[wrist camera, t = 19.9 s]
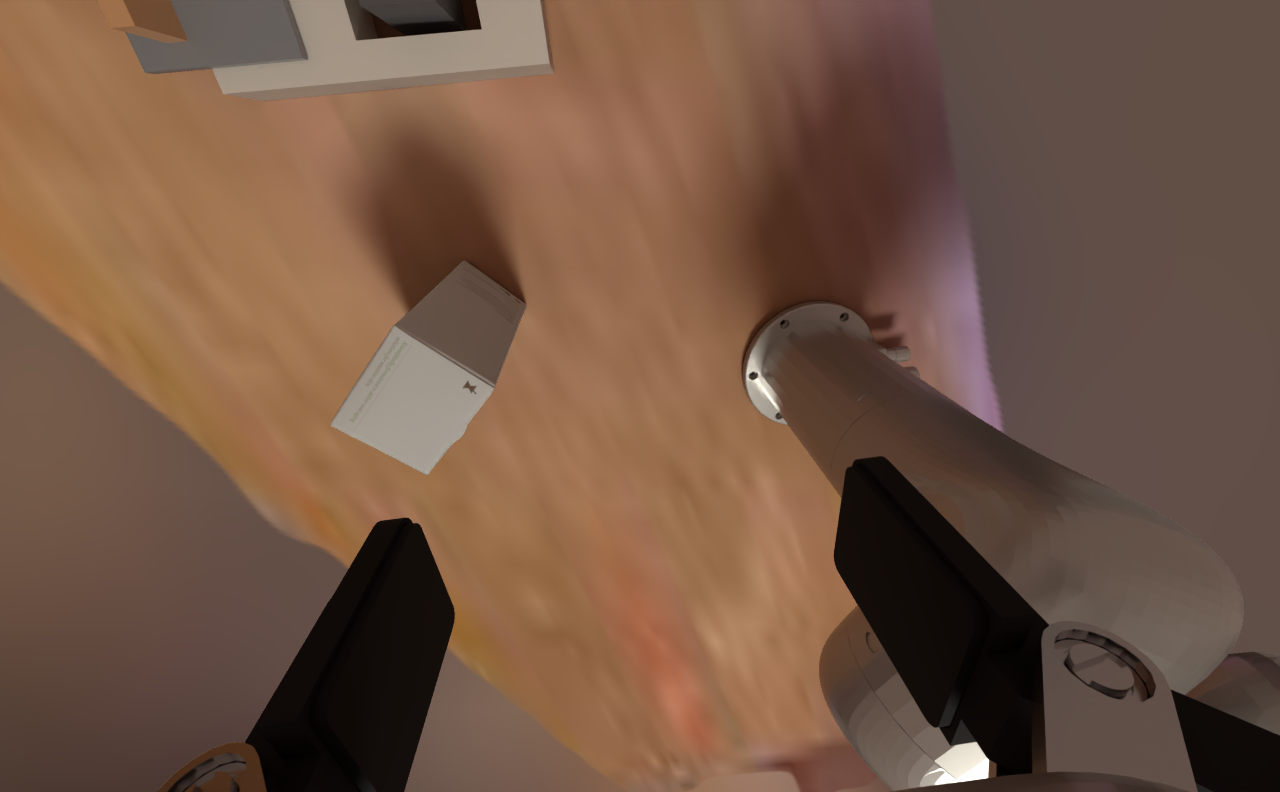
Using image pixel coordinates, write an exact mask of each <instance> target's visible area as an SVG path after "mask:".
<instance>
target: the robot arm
mask: <svg viewBox="0 0 1280 792" xmlns="http://www.w3.org/2000/svg"><path fill="white" fill-rule="evenodd" d="M841 314H842V315H841ZM840 315H841V316H840ZM782 320H784V321H783V323H781V324H780V322H781V321H782ZM909 358H910V350H909V348H908V347H907V346H899V347H891V348H889V349H885V348H883V347H882V346H880V345H879V344H877V343H876V342H874V340H873V335H872V333H871V331H870V329H869V327H868V325H867V324H866V323H865V322H864V320H863V319H862V318H861V317H860V316H859V315H857V314H856V313H855V312H853V311H852V310H850V309H848V308H846V307H844V306H843V305H840V304H836V303H833V302H826V301H813V302H805V303H802V304H798V305H795V306H792V307H790V308H788V309H786V310H784V311H782V312H780V313H779V314H777V315H776V316H774V317H773V318H772V319H770V320H769V321H768V322H767V323H766V324H765V325H764V326H763V327H762V328H761V329H760V330H759V331H758V333H757V334H756V336H755V337H754V338H753V340H752V341H751V343H750V346H749V348H748V350H747V352H746V355H745V359H744V363H743V373H742V377H743V384H744V388H745V391H746V393H747V396H748V398H749V399H750V401H751V402H752V404H753V405H754V407H755V408H756V409H757V410H758V411H759V412H760V413H761V414H762V415H764V416H765V417H767V418H768V419H770V420H772V421H774V422H777V423H781V424H785V425H789V427H790V428H791V430H792V431H793V432H794V434H795V435H796V436H797V438H798V439H799V440H800V442H801V443H802V445H803V446H804V447H805V449H806V450H807V451H808V453H809V454H810V455H811V457H812V458H813V460H814V461H815V462H816V464H817V465H818V466H819V468H820V469H821V471H822V472H823V473H824V475H825V476H826V477H827V479H828V480H829V481H830V483H831V484H832V486H833V487H834V488H835V490H836V491H837V493H838V494H839V495H840V497H841V498H842V499H841V506H840V514H839V521H838V528H837V535H836V542H835V549H834V562H835V565H836V568H837V570H838V572H839V574H840V576H841V577H842V579H843V581H844V582H845V584H846V586H847V588H848V589H849V591H850V593H851V594H852V596H853V598H854V599H855V601H856V603H857V604H858V605H857V606H856V607H855V608H854V609H853V610H852V611H851V612H850V613H849V614H848V615H847V616H846V617H845V618H844V619H843V621H842V622H841V623H840V624H839V625H838V626H837V627H836V629H835V630H834V631H833V632H832V633H831V635H830V636H829V638H828V639H827V641H826V643H825V645H824V647H823V649H822V653H821V656H820V661H819V678H820V683H821V688H822V692H823V695H824V698H825V700H826V703H827V705H828V707H829V709H830V712H831V714H832V716H833V717H834V719H835V721H836V723H837V724H838V726H839V728H840V729H841V731H842V732H843V734H844V735H845V737H846V738H847V740H848V741H849V743H850V744H851V745H852V747H853V748H854V749H855V751H856V752H857V753H858V754H859V756H860V757H861V758H862V759H863V760H864V762H865V763H866V764H867V765H868V766H869V767H870V768H871V770H872V771H873V772H874V773H875V774H876V775H877V776H878V777H879V778H880V779H881V780H882V781H883V783H884V784H885V785H886V786H887V787H888V788H889V789H890V790H891V792H1280V655H1278V654H1274V653H1267V652H1242V653H1232V654H1229V652H1230V651H1231V649H1232V648H1233V646H1234V645H1235V643H1236V641H1237V638H1238V636H1239V634H1240V631H1241V627H1242V623H1243V618H1244V603H1243V597H1242V593H1241V590H1240V588H1239V585H1238V582H1237V581H1236V579H1235V577H1234V576H1233V574H1232V572H1231V571H1230V570H1229V568H1228V567H1227V566H1226V564H1225V563H1224V562H1223V561H1222V560H1221V559H1220V558H1219V556H1218V555H1217V554H1216V553H1215V552H1214V551H1213V550H1212V549H1211V548H1209V546H1207V545H1206V544H1205V543H1204V542H1203V541H1201V540H1200V539H1199V538H1198V537H1196V536H1195V535H1193V534H1192V533H1190V532H1189V531H1187V530H1186V529H1184V528H1183V527H1181V526H1180V525H1178V524H1177V523H1175V522H1174V521H1173V520H1171V519H1170V518H1168V517H1167V516H1165V515H1163V514H1161V513H1159V512H1157V511H1156V510H1154V509H1152V508H1150V507H1148V506H1146V505H1144V504H1143V503H1141V502H1139V501H1137V500H1135V499H1133V498H1131V497H1129V496H1127V495H1125V494H1123V493H1121V492H1119V491H1117V490H1114V489H1112V488H1110V487H1108V486H1106V485H1104V484H1102V483H1100V482H1098V481H1095V480H1093V479H1091V478H1089V477H1087V476H1084V475H1083V474H1080V473H1078V472H1076V471H1074V470H1072V469H1070V468H1068V467H1066V466H1064V465H1061V464H1059V463H1057V462H1055V461H1053V460H1051V459H1049V458H1047V457H1046V456H1044V455H1042V454H1040V453H1038V452H1036V451H1034V450H1032V449H1030V448H1028V447H1027V446H1025V445H1023V444H1021V443H1019V442H1017V441H1015V440H1014V439H1012V438H1011V437H1009V436H1007V435H1006V434H1004V433H1002V432H1001V431H999V430H997V429H996V428H994V427H993V426H991V425H989V424H988V423H986V422H985V421H983V420H981V419H980V418H978V417H976V416H975V415H973V414H972V413H970V412H969V411H968V410H966V409H965V408H963V407H962V406H960V405H959V404H957V403H956V402H954V401H953V400H951V399H950V398H948V397H947V396H945V395H944V394H942V393H941V392H939V391H938V390H936V389H935V388H933V387H932V386H930V385H929V384H927V383H926V382H924V381H923V380H922V379H920V374H919V371H918V370H917V369H916V367H913V366H911V367H902V366H901V365H899V364H898V363H896V362H901V361H907V360H909ZM751 372H753V373H752V374H750V373H751ZM454 618H455V612H454V607H453V604H452V602H451V599H450V597H449V594H448V592H447V589H446V587H445V584H444V582H443V579H442V577H441V575H440V572H439V570H438V567H437V565H436V562H435V560H434V557H433V555H432V552H431V550H430V548H429V545H428V543H427V540H426V538H425V535H424V533H423V530H422V528H421V526H420V525H419V524H418V523H414V524H413V523H412V521H411V520H410V519H409V518H399V519H391V520H384V521H379V522H377V523H376V524H375V526H374V527H373V529H372V530H371V532H370V534H369V536H368V537H367V539H366V541H365V542H364V544H363V546H362V547H361V549H360V551H359V552H358V554H357V556H356V558H355V559H354V561H353V563H352V564H351V566H350V568H349V569H348V571H347V573H346V575H345V576H344V578H343V580H342V581H341V583H340V585H339V587H338V588H337V590H336V592H335V593H334V595H333V596H332V598H331V599H330V601H329V602H328V603H327V605H326V607H325V608H324V610H323V612H322V613H321V615H320V617H319V619H318V620H317V622H316V624H315V625H314V627H313V629H312V631H311V632H310V634H309V636H308V637H307V639H306V640H305V642H304V644H303V646H302V647H301V649H300V650H299V652H298V654H297V656H296V657H295V659H294V661H293V662H292V664H291V666H290V667H289V669H288V671H287V672H286V674H285V676H284V678H283V679H282V681H281V683H280V684H279V686H278V688H277V689H276V691H275V693H274V694H273V696H272V698H271V699H270V701H269V703H268V704H267V706H266V708H265V709H264V711H263V713H262V714H261V716H260V718H259V720H258V721H257V723H256V725H255V727H254V728H253V730H252V731H251V733H250V735H249V737H248V738H247V740H246V742H245V743H244V742H236V743H227V744H224V745H221V746H219V747H216V748H213V749H211V750H209V751H207V752H205V753H204V754H202V755H200V756H198V757H197V758H195V759H193V760H192V761H191V762H189V763H188V764H187V765H185V766H184V767H183V768H181V769H180V770H179V771H178V772H176V773H175V774H174V775H173V776H172V777H171V778H170V779H169V780H168V781H167V782H166V783H165V784H164V785H163V786H162V787H161V788H160V789H159V790H158V791H157V792H404V790H405V786H406V783H407V780H408V777H409V773H410V770H411V766H412V763H413V760H414V756H415V753H416V750H417V746H418V743H419V740H420V736H421V733H422V729H423V726H424V723H425V719H426V716H427V713H428V709H429V706H430V703H431V699H432V696H433V692H434V689H435V686H436V682H437V679H438V675H439V672H440V669H441V665H442V662H443V659H444V655H445V652H446V649H447V645H448V642H449V639H450V635H451V632H452V628H453V625H454Z"/></svg>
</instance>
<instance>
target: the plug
mask: <svg viewBox="0 0 1280 792" xmlns="http://www.w3.org/2000/svg"><path fill="white" fill-rule="evenodd" d="M359 3H360V6H362V7H363V8H365V9H366V10H368V11H369V12H371V13H372V14H374V15H375V16H377V17H379V18H380V19H382V20H383V21H385V22H386V23H388V24H389V25H391V26H392V27H394V28H395V29H397V30H399V31H400V32H402V33H403V34H405V35H424V34H436V33H447V32H458V31H466V26H465V21H464V15H463V10H462V4H461V0H359Z"/></svg>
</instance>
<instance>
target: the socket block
mask: <svg viewBox="0 0 1280 792" xmlns="http://www.w3.org/2000/svg"><path fill="white" fill-rule="evenodd" d="M288 2H289V5H290V8H291V11H292V14H293V17H294V20H295V23H296V26H297V29H298V31H299V34H300V37H301V40H302V43H303V46H304V49H305V52H306V55H307V58H308V60H302V61H291V62H280V63H270V64H259V65H248V66H237V67H226V68H215V69H213V72H214V74H215V76H216V79H217V81H218V83H219V86H220V88H221V90H222V93H223V94H225V95H231V96H237V97H243V98H249V99H255V100H261V101H269V100H280V99H291V98H301V97H312V96H322V95H333V94H344V93H354V92H365V91H375V90H386V89H396V88H407V87H418V86H428V85H439V84H449V83H460V82H470V81H481V80H492V79H502V78H513V77H523V76H534V75H544V74H554V69H553V62H552V56H551V49H550V42H549V35H548V28H547V21H546V14H545V7H544V1H543V0H476V3H477V8H478V13H479V18H480V23H481V28H482V29H480V30H469V31H458V32H447V33H436V34H425V35H414V36H402V37H391V38H380V39H378V35H377V32H376V28H375V25H374V21H373V18H372V14H371V12H369V11H368V10H366V9H365V8H363V7H362V6H360V3H359V0H288Z"/></svg>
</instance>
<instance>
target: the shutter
mask: <svg viewBox="0 0 1280 792" xmlns="http://www.w3.org/2000/svg"><path fill="white" fill-rule="evenodd" d="M97 1H98V3H99V5H100V8H101V10H102V12H103V14H104V16H105V18H106V20H107V22H108V24H109V26H110V28H112V29H116V30H120V31H124V32H126V34H127V36H128V38H129V40H130V42H131V45H132V47H133V49H134V51H135V53H136V55H137V57H138V59H139V61H140V63H141V65H142V67H143V69H144V71H145V73H150V74H160V73H171V72H182V71H193V70H204V69H215V68H226V67H237V66H248V65H259V64H270V63H280V62H291V61H302V60H308V58H307V55H306V52H305V49H304V46H303V43H302V40H301V37H300V34H299V31H298V29H297V26H296V23H295V20H294V17H293V14H292V11H291V8H290V5H289V2H288V0H97Z"/></svg>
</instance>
